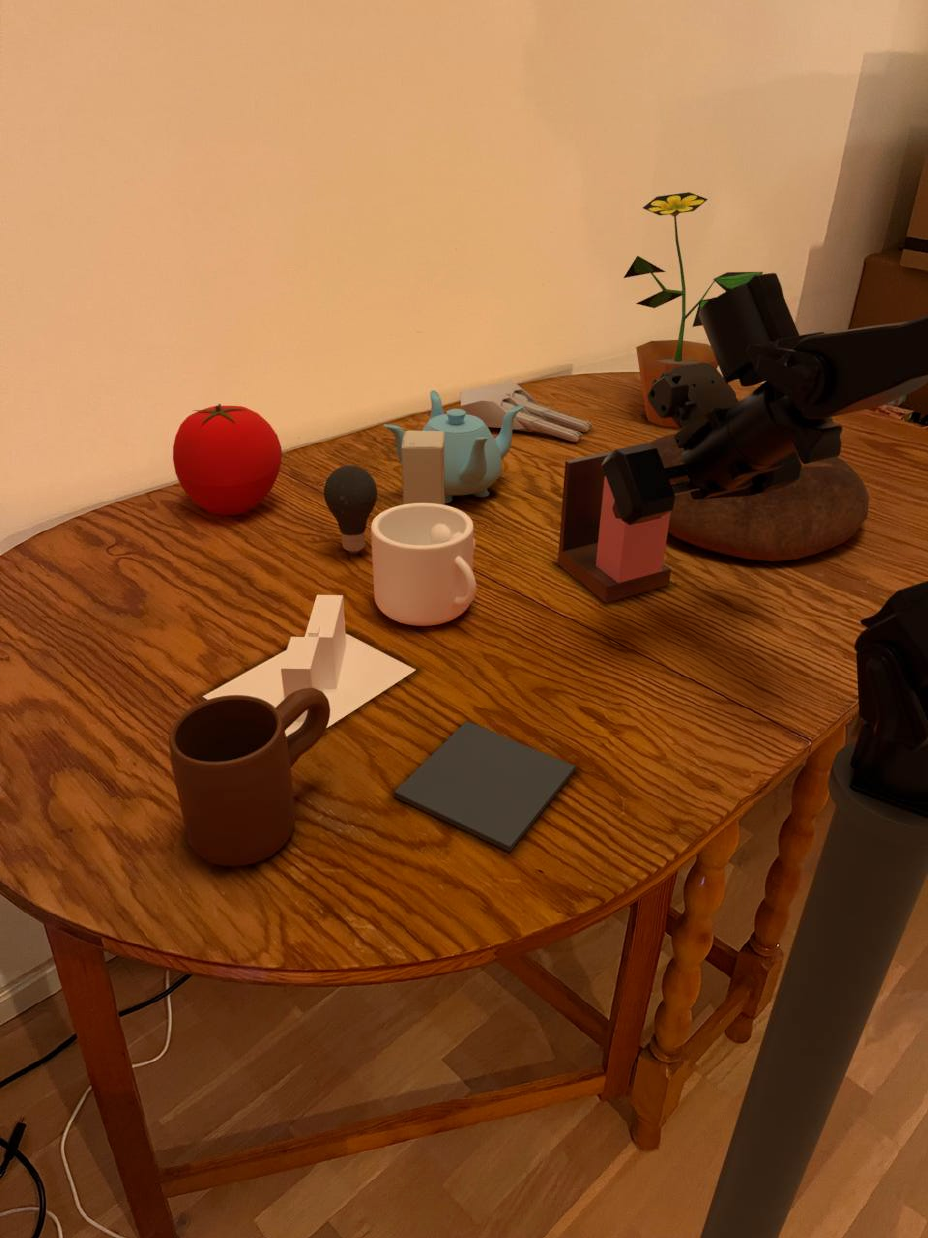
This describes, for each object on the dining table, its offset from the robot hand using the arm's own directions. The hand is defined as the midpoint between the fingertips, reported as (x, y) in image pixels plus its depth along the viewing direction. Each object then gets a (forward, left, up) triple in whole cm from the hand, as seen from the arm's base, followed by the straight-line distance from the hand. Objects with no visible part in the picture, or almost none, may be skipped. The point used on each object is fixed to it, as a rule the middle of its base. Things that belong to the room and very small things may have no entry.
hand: (654, 503), depth 87 cm
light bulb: (+30, +9, -11) cm, 33 cm away
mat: (-1, +32, -10) cm, 34 cm away
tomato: (+49, +8, -11) cm, 51 cm away
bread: (-2, -25, -11) cm, 27 cm away
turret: (+34, -35, -11) cm, 50 cm away
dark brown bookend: (+4, -2, -10) cm, 12 cm away
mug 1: (+10, +44, -11) cm, 46 cm away
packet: (+2, -1, -8) cm, 9 cm away
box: (+24, +4, -11) cm, 27 cm away
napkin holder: (+18, +30, -11) cm, 36 cm away
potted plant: (+17, -50, -11) cm, 54 cm away
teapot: (+30, -11, -11) cm, 34 cm away
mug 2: (+16, +14, -11) cm, 24 cm away
